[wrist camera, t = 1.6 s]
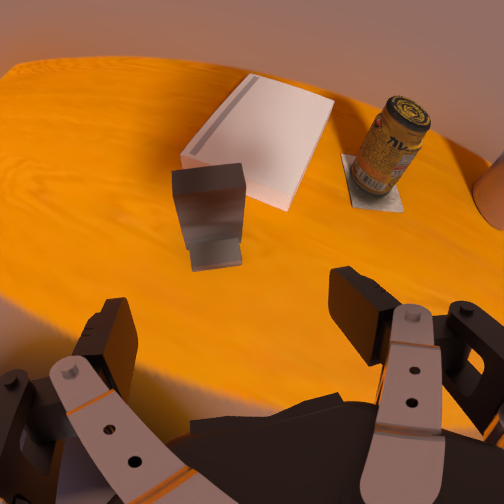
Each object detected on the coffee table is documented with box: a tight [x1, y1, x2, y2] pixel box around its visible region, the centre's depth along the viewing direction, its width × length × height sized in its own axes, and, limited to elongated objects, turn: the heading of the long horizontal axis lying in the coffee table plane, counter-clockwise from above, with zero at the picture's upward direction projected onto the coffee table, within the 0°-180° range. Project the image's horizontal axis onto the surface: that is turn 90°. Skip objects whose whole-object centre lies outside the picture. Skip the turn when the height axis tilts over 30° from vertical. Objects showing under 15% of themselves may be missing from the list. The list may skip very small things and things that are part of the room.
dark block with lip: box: [172, 163, 246, 272], centre depth 27 cm, size 6×5×10 cm
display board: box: [180, 73, 335, 212], centre depth 36 cm, size 19×13×3 cm
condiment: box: [341, 96, 431, 213], centre depth 31 cm, size 7×8×12 cm
